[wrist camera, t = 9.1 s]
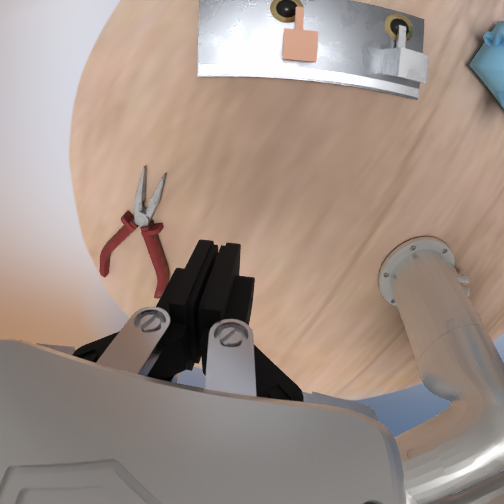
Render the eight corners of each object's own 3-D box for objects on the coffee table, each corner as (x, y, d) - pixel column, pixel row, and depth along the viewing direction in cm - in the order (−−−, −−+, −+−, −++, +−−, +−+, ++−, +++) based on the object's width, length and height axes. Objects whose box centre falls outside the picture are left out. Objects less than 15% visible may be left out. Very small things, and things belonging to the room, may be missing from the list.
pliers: (200, 181, 38) (194, 189, 36) (166, 293, 49) (161, 304, 47) (119, 152, 36) (110, 159, 34) (103, 267, 47) (96, 277, 45)
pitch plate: (418, 20, 23) (443, 15, 18) (412, 98, 29) (436, 106, 24) (203, -5, 25) (187, -18, 19) (200, 76, 30) (184, 78, 25)
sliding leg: (314, 9, 24) (319, 1, 20) (311, 62, 27) (316, 61, 23) (284, 7, 24) (285, -2, 20) (282, 60, 27) (282, 58, 23)
